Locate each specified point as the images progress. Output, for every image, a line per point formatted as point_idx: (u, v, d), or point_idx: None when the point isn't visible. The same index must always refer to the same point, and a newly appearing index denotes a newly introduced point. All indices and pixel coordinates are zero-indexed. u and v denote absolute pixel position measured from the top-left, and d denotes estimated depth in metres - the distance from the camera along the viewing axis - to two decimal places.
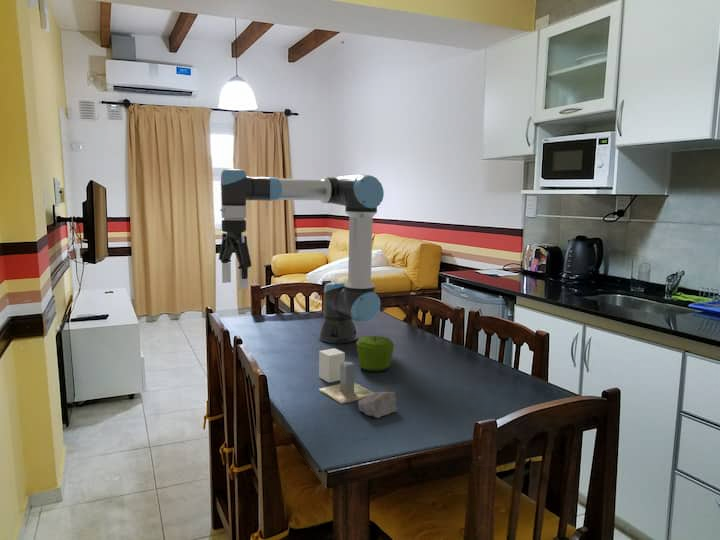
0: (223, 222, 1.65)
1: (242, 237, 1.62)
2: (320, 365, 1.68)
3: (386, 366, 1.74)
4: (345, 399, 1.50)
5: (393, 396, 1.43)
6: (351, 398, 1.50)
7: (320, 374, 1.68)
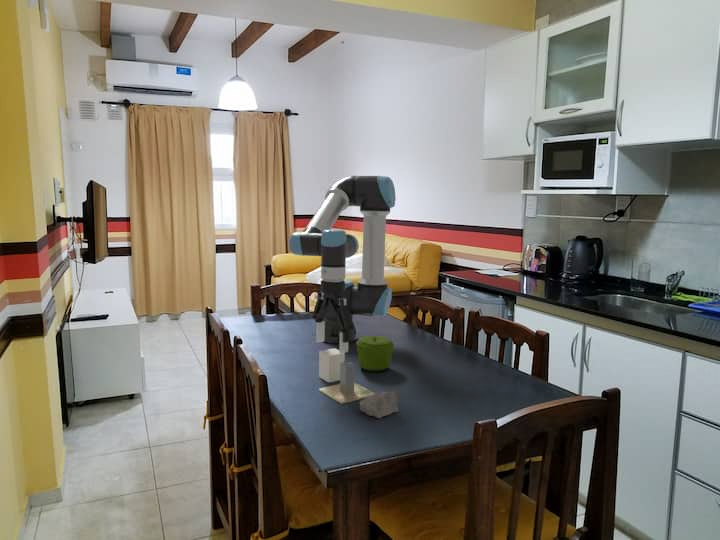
0: (323, 284, 1.61)
1: (344, 300, 1.59)
2: (320, 365, 1.68)
3: (386, 366, 1.74)
4: (345, 399, 1.50)
5: (394, 396, 1.43)
6: (351, 398, 1.50)
7: (320, 374, 1.68)
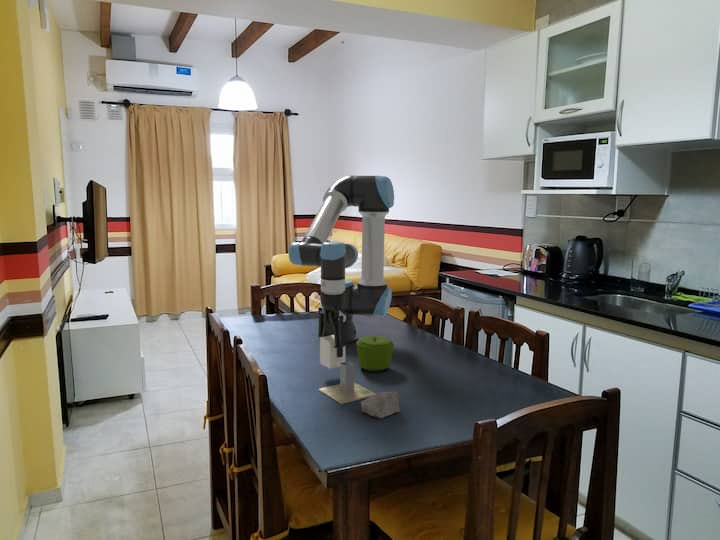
0: (323, 296, 1.62)
1: (344, 317, 1.60)
2: (321, 351, 1.68)
3: (386, 366, 1.74)
4: (345, 399, 1.50)
5: (396, 396, 1.43)
6: (351, 398, 1.50)
7: (321, 360, 1.68)
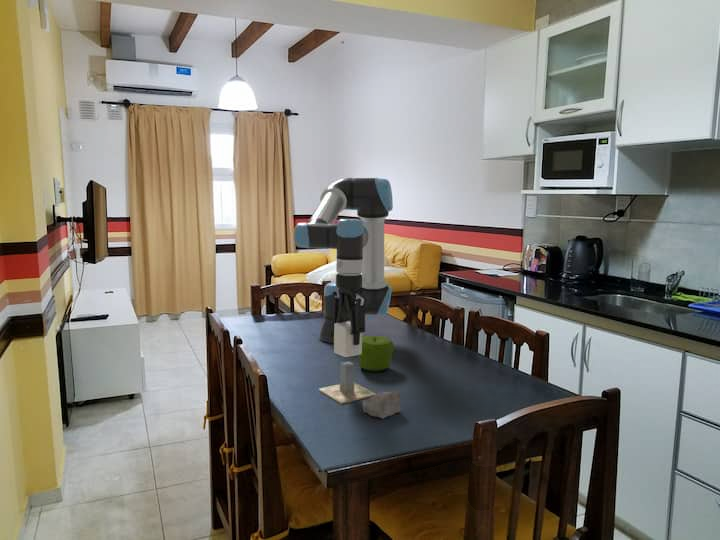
0: (339, 278, 1.48)
1: (362, 300, 1.46)
2: (335, 339, 1.54)
3: (386, 366, 1.74)
4: (345, 399, 1.50)
5: (397, 396, 1.43)
6: (351, 398, 1.50)
7: (335, 349, 1.54)
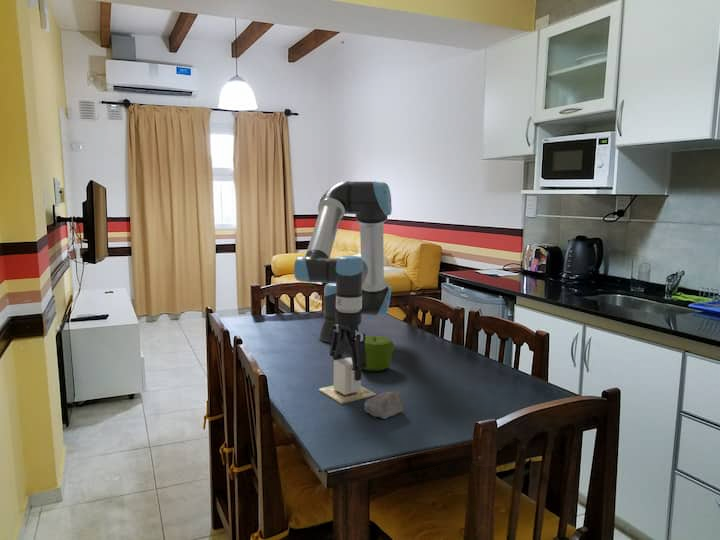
0: (338, 315, 1.50)
1: (361, 336, 1.48)
2: (335, 376, 1.55)
3: (386, 366, 1.74)
4: (345, 399, 1.50)
5: (399, 396, 1.43)
6: (351, 398, 1.50)
7: (335, 385, 1.56)
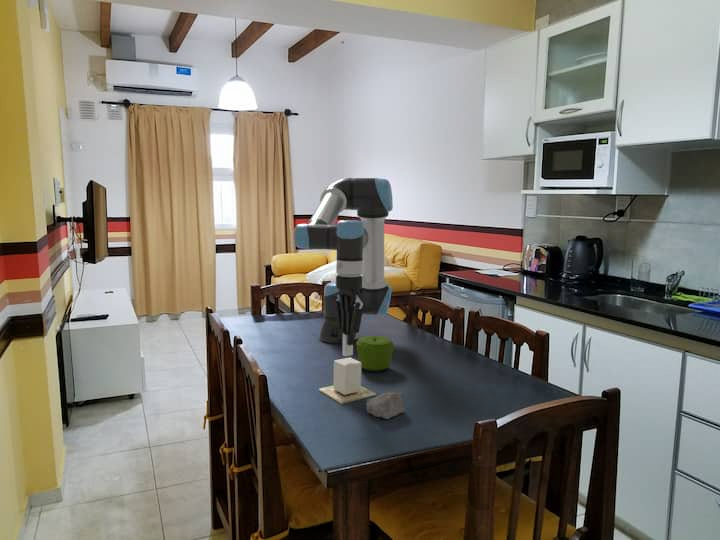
0: (339, 279, 1.49)
1: (361, 305, 1.47)
2: (335, 376, 1.55)
3: (386, 366, 1.74)
4: (345, 399, 1.50)
5: (401, 396, 1.43)
6: (351, 398, 1.50)
7: (335, 385, 1.56)
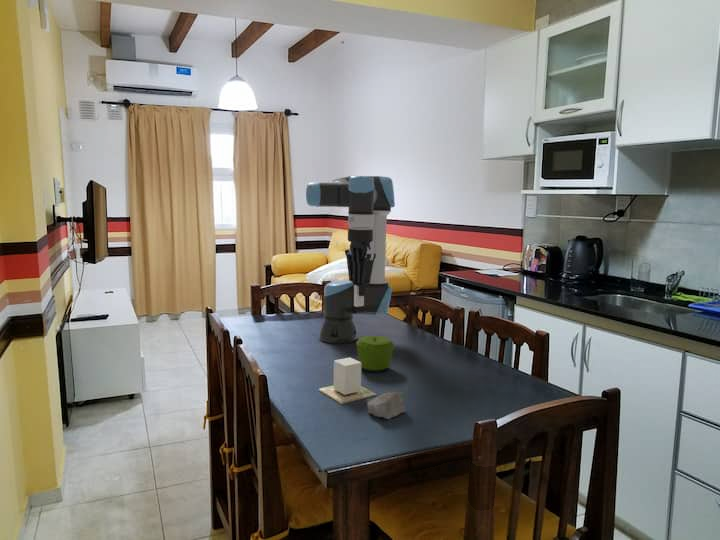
0: (351, 232, 1.56)
1: (372, 256, 1.55)
2: (335, 376, 1.55)
3: (386, 366, 1.74)
4: (345, 399, 1.50)
5: (402, 396, 1.43)
6: (351, 398, 1.50)
7: (335, 385, 1.56)
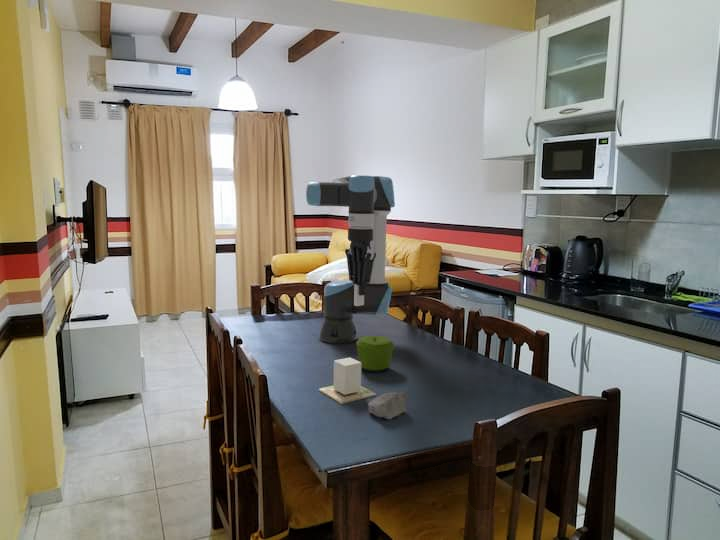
0: (351, 231, 1.56)
1: (372, 255, 1.55)
2: (335, 376, 1.55)
3: (386, 366, 1.74)
4: (345, 399, 1.50)
5: (402, 397, 1.43)
6: (351, 398, 1.50)
7: (335, 385, 1.56)
